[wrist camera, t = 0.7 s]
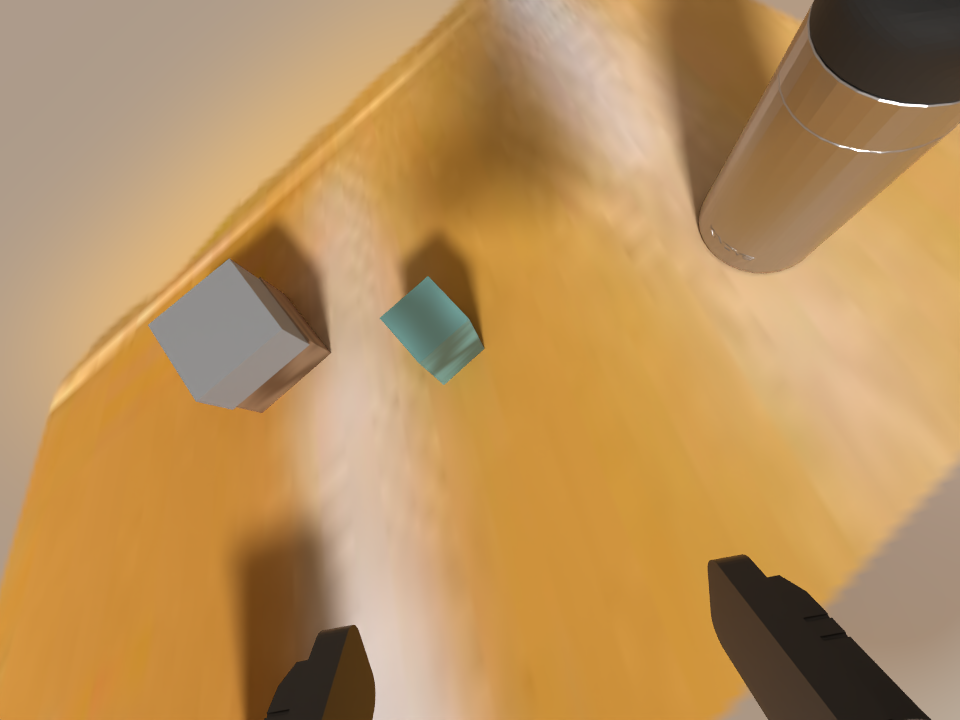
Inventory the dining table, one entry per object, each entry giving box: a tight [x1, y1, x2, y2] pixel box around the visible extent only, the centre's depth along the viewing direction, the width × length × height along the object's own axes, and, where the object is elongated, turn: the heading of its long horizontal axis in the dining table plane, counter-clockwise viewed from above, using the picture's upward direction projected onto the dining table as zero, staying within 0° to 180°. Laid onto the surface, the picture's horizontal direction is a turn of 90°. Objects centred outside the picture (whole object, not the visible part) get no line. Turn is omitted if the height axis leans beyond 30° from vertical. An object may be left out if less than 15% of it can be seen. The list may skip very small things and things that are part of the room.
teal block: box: [380, 276, 484, 384], centre depth 36 cm, size 5×5×8 cm
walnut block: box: [237, 278, 331, 413], centre depth 40 cm, size 8×8×4 cm
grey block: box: [148, 259, 310, 410], centre depth 36 cm, size 8×8×4 cm
